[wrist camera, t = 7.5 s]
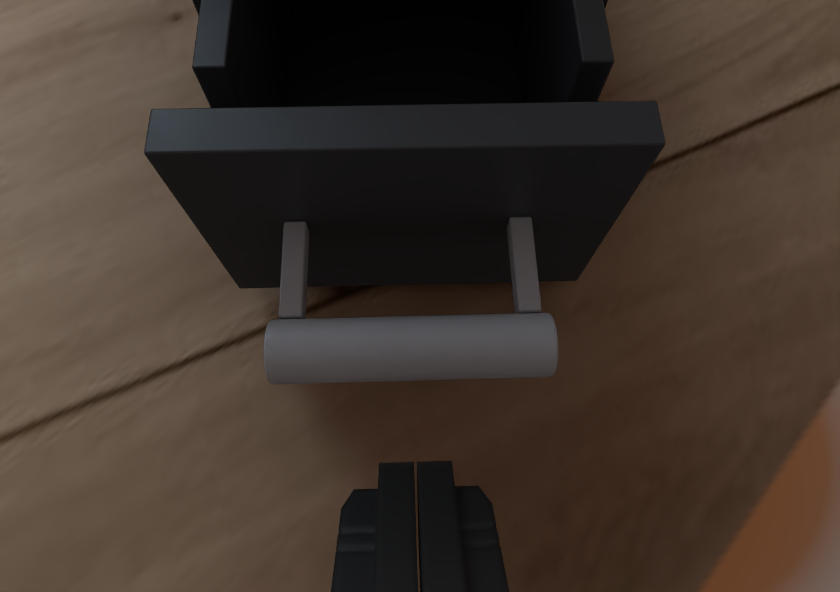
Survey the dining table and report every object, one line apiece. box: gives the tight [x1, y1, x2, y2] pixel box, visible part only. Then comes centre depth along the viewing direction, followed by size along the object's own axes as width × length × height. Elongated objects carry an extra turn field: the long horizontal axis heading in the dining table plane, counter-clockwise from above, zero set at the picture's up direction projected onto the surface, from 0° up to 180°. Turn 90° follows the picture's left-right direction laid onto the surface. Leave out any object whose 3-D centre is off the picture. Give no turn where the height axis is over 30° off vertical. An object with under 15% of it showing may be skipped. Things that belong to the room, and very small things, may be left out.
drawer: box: [144, 0, 665, 384], centre depth 18 cm, size 18×11×8 cm, turn 2°
